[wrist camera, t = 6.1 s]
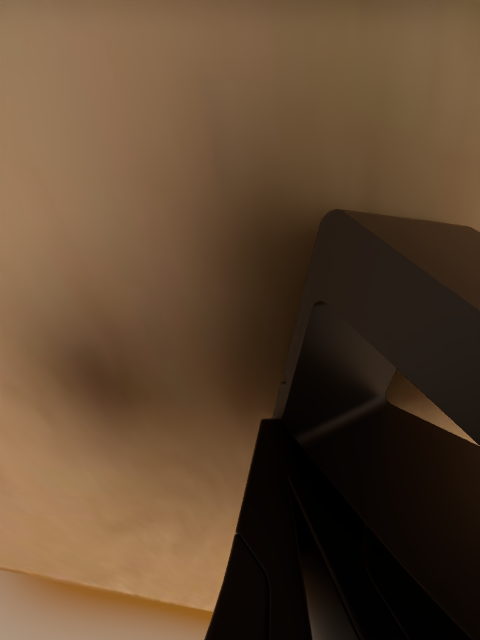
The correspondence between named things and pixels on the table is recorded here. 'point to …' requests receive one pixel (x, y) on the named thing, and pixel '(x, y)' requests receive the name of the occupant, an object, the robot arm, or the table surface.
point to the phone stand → (374, 378)
